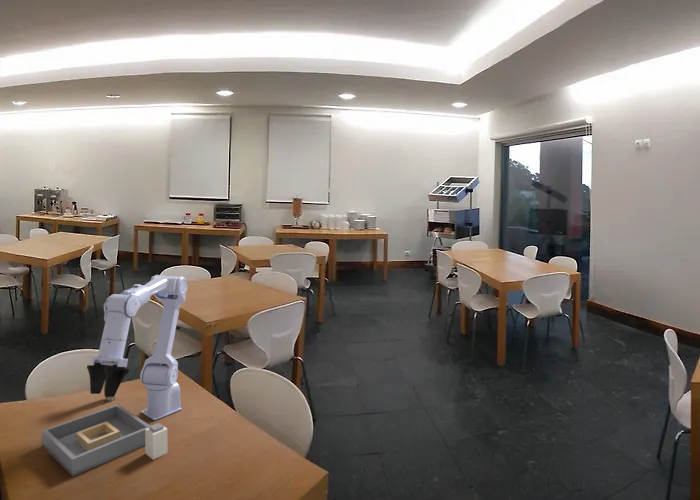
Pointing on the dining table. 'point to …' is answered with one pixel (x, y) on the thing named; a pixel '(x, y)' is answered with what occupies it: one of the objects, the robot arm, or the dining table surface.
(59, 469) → the dining table surface
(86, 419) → the box
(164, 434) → the plug
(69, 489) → the dining table surface
